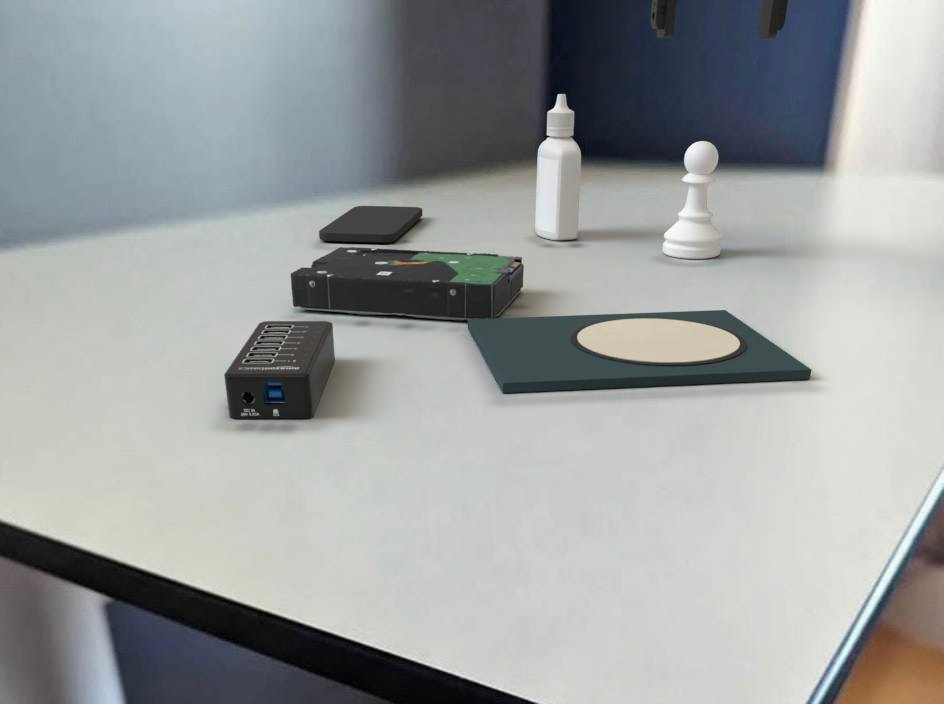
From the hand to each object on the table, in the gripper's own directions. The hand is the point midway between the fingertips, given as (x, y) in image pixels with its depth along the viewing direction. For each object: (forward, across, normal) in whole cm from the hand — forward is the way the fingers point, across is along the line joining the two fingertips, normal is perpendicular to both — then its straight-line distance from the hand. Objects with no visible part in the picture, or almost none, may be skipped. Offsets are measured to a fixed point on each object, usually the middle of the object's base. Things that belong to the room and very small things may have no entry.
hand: (716, 38), depth 82 cm
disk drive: (+17, -26, -14) cm, 34 cm away
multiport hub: (+17, -35, -33) cm, 51 cm away
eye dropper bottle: (+17, -10, +10) cm, 22 cm away
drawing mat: (+16, -14, -29) cm, 36 cm away
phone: (+17, -27, +16) cm, 36 cm away
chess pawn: (+17, 0, 0) cm, 17 cm away
